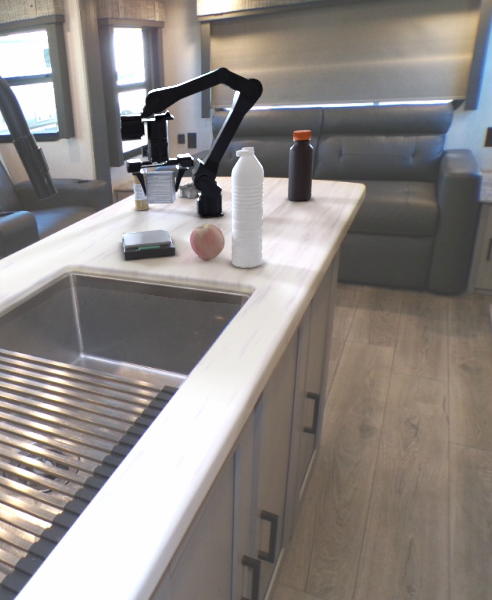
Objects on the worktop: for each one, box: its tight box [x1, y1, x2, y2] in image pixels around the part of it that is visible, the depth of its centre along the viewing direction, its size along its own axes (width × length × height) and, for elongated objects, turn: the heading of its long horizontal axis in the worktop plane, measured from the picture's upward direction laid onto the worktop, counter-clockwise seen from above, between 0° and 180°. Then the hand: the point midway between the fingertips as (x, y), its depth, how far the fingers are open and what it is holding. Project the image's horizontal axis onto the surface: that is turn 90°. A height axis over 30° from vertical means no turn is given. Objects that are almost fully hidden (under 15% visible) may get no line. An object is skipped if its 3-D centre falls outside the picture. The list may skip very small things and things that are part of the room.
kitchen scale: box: [121, 228, 176, 261], centre depth 134 cm, size 12×14×3 cm
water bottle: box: [230, 146, 265, 269], centre depth 113 cm, size 9×6×25 cm
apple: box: [189, 222, 226, 260], centre depth 123 cm, size 8×8×8 cm
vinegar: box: [287, 129, 315, 202], centre depth 161 cm, size 7×7×20 cm
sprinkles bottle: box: [132, 168, 150, 211], centre depth 169 cm, size 5×5×14 cm
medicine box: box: [145, 170, 177, 205], centre depth 155 cm, size 8×4×9 cm, turn 71°
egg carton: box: [178, 181, 202, 199], centre depth 183 cm, size 11×8×4 cm
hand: (161, 193), depth 156 cm, fingers closed on medicine box, 9 cm apart
